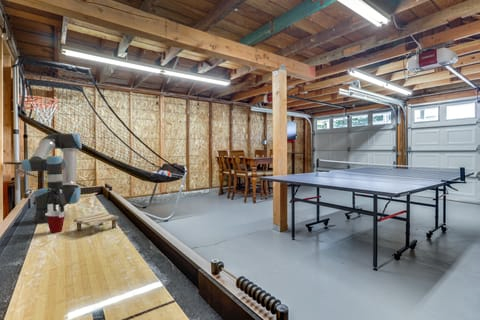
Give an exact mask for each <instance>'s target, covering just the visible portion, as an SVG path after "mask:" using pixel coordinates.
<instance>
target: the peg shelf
mask: <svg viewBox="0 0 480 320" xmlns="http://www.w3.org/2000/svg"><path fill="white" fill-rule="evenodd" d="M117 220H119V215H114V214H110V213H105V212H100V213H95V214H90V215H86V216H81V217H78V218H74V219H73V222H74V223H76V232H81V231H83V230H82V225H85V226H88V227H89V236H94V235H95V226H96V225H99V226H104V223H107V222H111V229H113V230H114V228H115V229H116V228H117Z"/></svg>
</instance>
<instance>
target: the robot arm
mask: <svg viewBox="0 0 480 320" xmlns="http://www.w3.org/2000/svg"><path fill="white" fill-rule="evenodd" d="M81 140H82V139H81V137H80V135H79V134H78V133H57V132H55V133H51V134H48V135H46V136H44V137H43V138H41V139H40V141H39V143H38V147H37V148H36V149H35V150H34V153H33V154H32V155H31V157H29V158H26V159H23V160H22V161H21V165H20V166H21V170H22V171H23V172H29V173H30V172H46V178H47V179H46V180H47V185H46V187H44V188H39V189H37V190H36V191H35V194H34V200H35V201H34V205H35V211H34V214H33V216H32V217H33V218H32V223H33V224H46V223H48V221H47V218H46V215H45V213H48V212H53V211H59V218H60V217H64V211H65V206H67V205H73V204H77V203H78V202H79V201H80V198H81V191H82V190H81V189H82V188H81V187H79V185H78V184H77V160H78V159H77V155H78V154H77V153H79V151H80V150H81V149H82V148H83V147H82V146H83V145H82V141H81ZM56 149H57V150H58V149H59V150H60V151H61V152H62V156H61V155H50V154H51V151H53V150H56ZM57 207H58V209H57Z"/></svg>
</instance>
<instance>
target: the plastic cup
mask: <svg viewBox="0 0 480 320" xmlns="http://www.w3.org/2000/svg"><path fill="white" fill-rule="evenodd" d="M66 214H67V211H65V210H64V217H60V218H59V210H57V211H53V212H48V213H45V215H46V218H47V221H48V222H47V225H48V228H49V232H50V234H58V233H61V232H62V231H63V227H64V223H65V217H66Z"/></svg>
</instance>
